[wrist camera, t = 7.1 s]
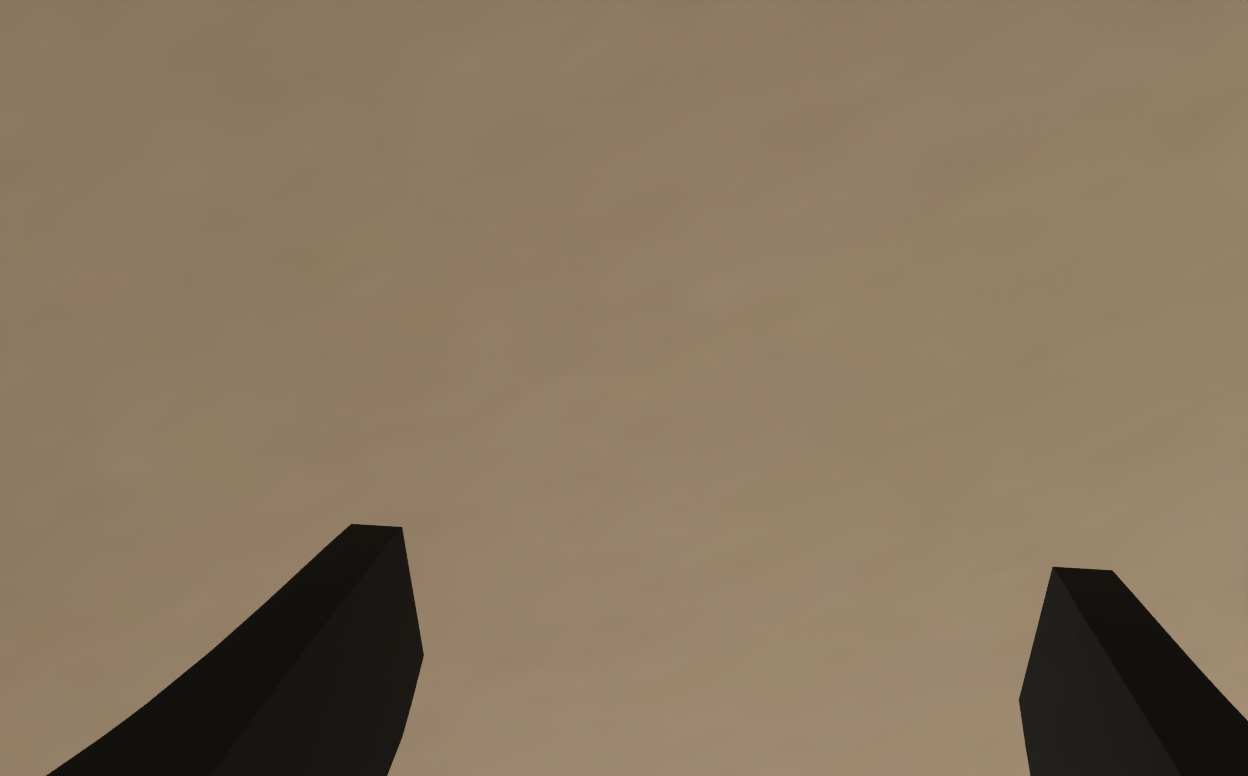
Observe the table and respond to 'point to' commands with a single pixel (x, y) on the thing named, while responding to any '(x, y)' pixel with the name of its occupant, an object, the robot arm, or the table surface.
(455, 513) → the table surface
